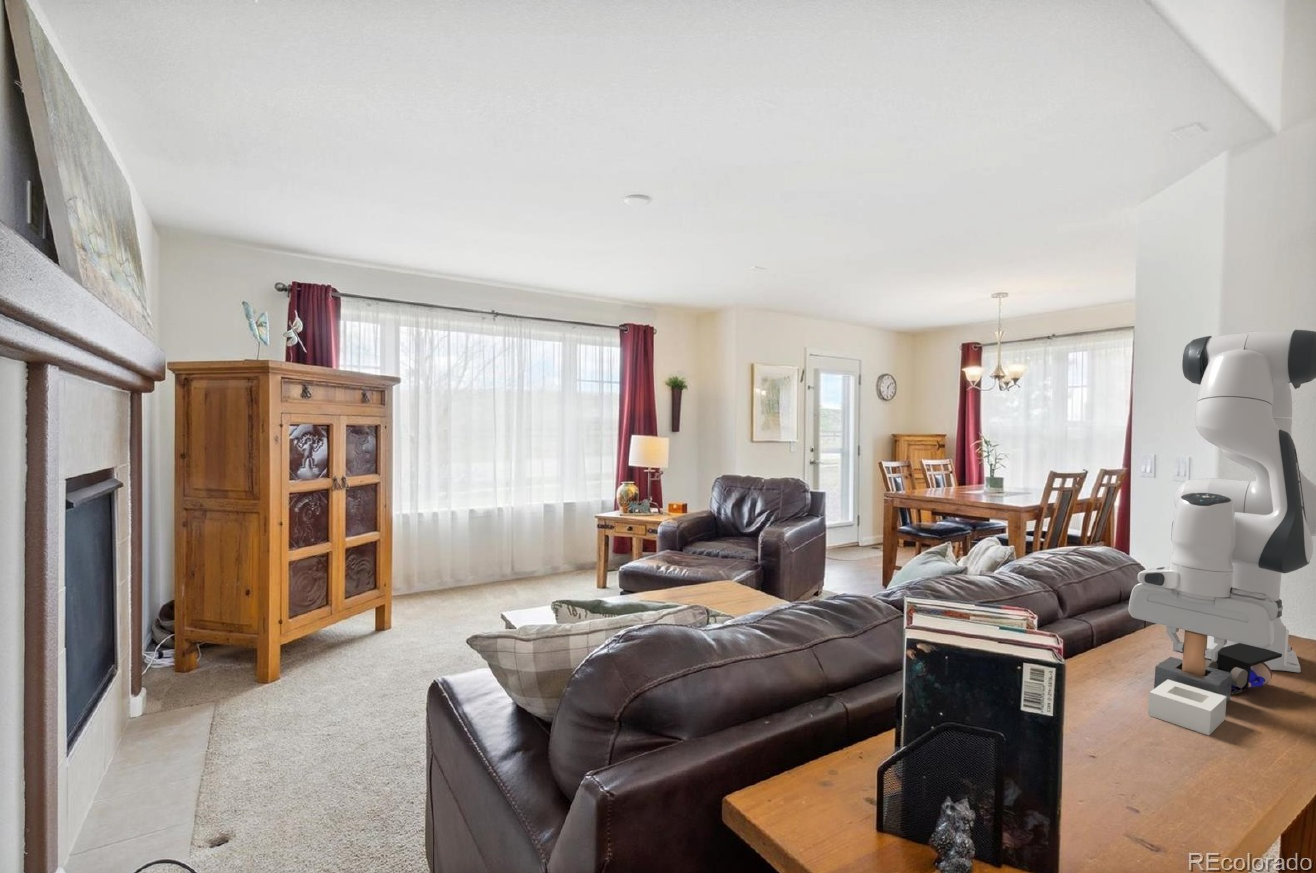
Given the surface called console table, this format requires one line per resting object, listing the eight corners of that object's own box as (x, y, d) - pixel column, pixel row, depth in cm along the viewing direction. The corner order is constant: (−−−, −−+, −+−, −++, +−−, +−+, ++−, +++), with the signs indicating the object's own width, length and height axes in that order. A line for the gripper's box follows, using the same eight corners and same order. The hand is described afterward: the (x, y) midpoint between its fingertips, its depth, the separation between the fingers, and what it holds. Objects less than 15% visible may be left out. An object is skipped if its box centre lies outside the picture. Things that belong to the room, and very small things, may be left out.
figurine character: (1241, 708, 114) (1283, 687, 120) (1241, 668, 113) (1284, 649, 119) (1196, 693, 120) (1239, 673, 126) (1197, 654, 119) (1239, 637, 125)
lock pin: (1183, 691, 117) (1187, 628, 116) (1205, 697, 114) (1209, 633, 114) (1178, 695, 115) (1182, 631, 114) (1200, 701, 112) (1205, 636, 112)
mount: (1168, 681, 121) (1170, 656, 121) (1230, 700, 114) (1232, 673, 113) (1153, 692, 115) (1155, 666, 115) (1217, 712, 108) (1219, 684, 108)
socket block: (1166, 701, 112) (1167, 679, 112) (1224, 719, 106) (1226, 696, 105) (1147, 715, 106) (1149, 692, 106) (1208, 735, 100) (1210, 711, 99)
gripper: (1282, 593, 107) (1276, 672, 108) (1139, 567, 124) (1134, 635, 124) (1274, 598, 104) (1268, 680, 104) (1127, 571, 120) (1123, 641, 120)
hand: (1194, 655), depth 114 cm, fingers closed on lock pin, 3 cm apart
